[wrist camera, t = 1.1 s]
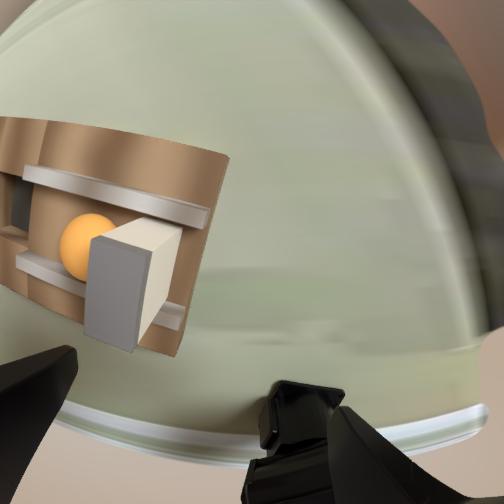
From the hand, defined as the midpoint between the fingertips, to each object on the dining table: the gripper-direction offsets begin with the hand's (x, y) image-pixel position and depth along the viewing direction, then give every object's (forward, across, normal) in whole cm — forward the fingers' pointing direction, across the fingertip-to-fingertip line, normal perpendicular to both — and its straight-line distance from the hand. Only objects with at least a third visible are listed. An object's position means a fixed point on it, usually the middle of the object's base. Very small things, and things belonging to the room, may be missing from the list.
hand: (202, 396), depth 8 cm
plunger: (+10, +5, -1) cm, 11 cm away
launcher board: (+13, +12, -1) cm, 18 cm away
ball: (+8, +8, -1) cm, 12 cm away
